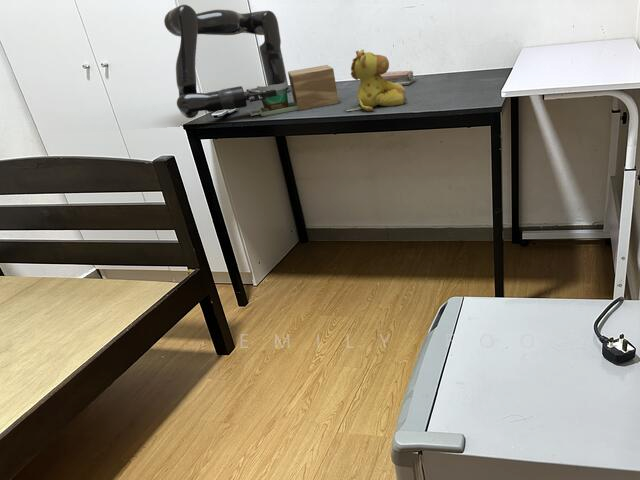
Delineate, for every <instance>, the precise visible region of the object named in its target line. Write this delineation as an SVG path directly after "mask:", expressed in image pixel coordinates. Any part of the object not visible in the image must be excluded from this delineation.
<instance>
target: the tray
mask: <svg viewBox="0 0 640 480" xmlns="http://www.w3.org/2000/svg"><path fill="white" fill-rule="evenodd" d="M288 106H289V107H288V108H283V109H277V110H272V111H266V112H265V109H264V106H263V107H258V109H256V110H250V111H249V115H250V116H251V117H253V116H257V115H260V116H261V117H266V116H271V115H277V114H282V113H283V114H284V113H289V112H294V111H299V110H298V105H297V103H296V102H294V101H291V102H288Z"/></svg>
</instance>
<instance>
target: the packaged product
mask: <svg viewBox="0 0 640 480" xmlns="http://www.w3.org/2000/svg"><path fill="white" fill-rule="evenodd" d="M380 75H381V76H382V78H383V79H385V80H387V81H390V82H392V83H397V84H400V85H402V86H409V85H410V84H412V83H413V82H415V81H416V77H415V76H414V71H413V70H400V71H387V72H386V73H384V74H380Z"/></svg>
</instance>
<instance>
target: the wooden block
mask: <svg viewBox="0 0 640 480" xmlns="http://www.w3.org/2000/svg"><path fill="white" fill-rule="evenodd" d="M287 75H288V81H289V86H290V90H291V95H292V99H293V102H296V103H297V105H298V110H297V111H303V110H308V109H315V108H321V107H326V106H332V105H338V104H340V103H339V102H340V101H339V95H338V89H337V83H336V76H335V72H334V68H333V67H332V66H330V65H329V64H325V65H319V66H313V67H307V68H301V69H295V70H289V71H287Z"/></svg>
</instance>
